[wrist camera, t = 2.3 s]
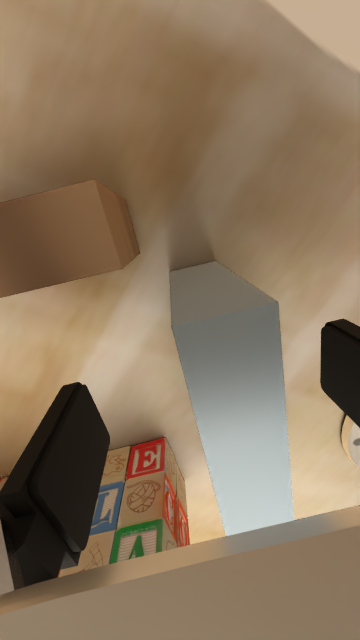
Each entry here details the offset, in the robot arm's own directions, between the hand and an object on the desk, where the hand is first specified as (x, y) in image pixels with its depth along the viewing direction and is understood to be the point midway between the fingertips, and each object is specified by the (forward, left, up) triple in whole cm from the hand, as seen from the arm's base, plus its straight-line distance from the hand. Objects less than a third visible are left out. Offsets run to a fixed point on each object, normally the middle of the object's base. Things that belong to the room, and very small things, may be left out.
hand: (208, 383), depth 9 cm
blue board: (-1, +6, -7) cm, 9 cm away
